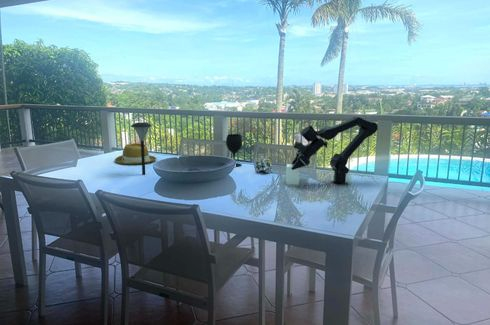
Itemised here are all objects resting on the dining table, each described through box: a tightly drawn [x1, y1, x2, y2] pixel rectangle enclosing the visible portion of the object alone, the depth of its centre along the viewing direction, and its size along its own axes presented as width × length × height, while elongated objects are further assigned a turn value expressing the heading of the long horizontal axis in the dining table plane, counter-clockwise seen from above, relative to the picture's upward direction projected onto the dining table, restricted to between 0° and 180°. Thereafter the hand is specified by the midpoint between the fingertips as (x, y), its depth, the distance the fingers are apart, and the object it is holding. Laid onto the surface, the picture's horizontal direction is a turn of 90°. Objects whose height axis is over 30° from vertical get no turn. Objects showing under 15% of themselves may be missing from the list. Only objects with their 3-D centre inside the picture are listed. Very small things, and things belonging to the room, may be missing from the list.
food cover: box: [285, 163, 301, 185], centre depth 196 cm, size 7×7×10 cm
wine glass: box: [225, 133, 243, 168], centre depth 239 cm, size 10×10×20 cm
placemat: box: [275, 175, 310, 188], centre depth 202 cm, size 22×14×1 cm, turn 161°
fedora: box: [114, 142, 158, 166], centre depth 250 cm, size 27×29×12 cm
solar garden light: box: [130, 121, 153, 176], centre depth 210 cm, size 12×12×30 cm
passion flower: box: [255, 156, 274, 174], centre depth 221 cm, size 11×11×12 cm
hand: (291, 167), depth 196 cm, fingers open, 9 cm apart
